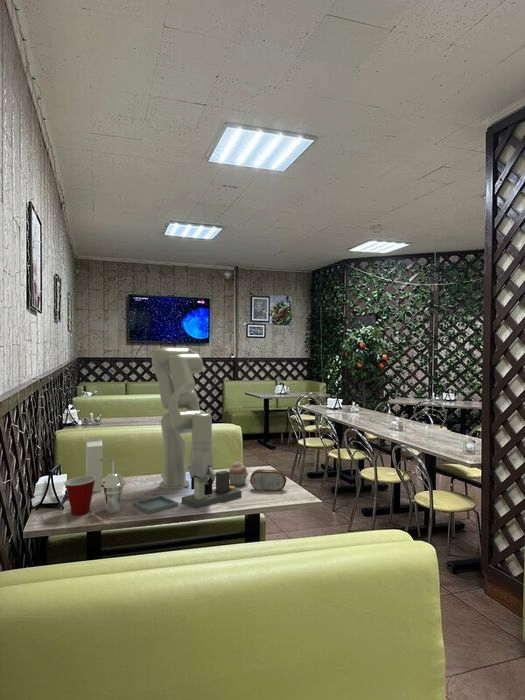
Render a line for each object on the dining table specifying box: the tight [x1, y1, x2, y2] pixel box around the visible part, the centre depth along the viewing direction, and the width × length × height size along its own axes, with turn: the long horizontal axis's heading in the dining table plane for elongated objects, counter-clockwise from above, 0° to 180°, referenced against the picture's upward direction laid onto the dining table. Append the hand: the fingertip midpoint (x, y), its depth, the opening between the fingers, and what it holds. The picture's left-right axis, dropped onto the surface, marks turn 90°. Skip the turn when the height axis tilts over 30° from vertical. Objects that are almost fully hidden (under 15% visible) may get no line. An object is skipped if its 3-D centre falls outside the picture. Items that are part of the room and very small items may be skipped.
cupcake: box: [228, 460, 250, 487], centre depth 196 cm, size 9×9×10 cm
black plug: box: [215, 470, 230, 494], centre depth 178 cm, size 3×4×10 cm
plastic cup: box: [63, 475, 96, 516], centre depth 161 cm, size 11×11×12 cm
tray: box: [132, 494, 179, 515], centre depth 167 cm, size 12×12×2 cm
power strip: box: [181, 485, 242, 510], centre depth 175 cm, size 9×22×3 cm, turn 132°
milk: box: [85, 436, 104, 493], centre depth 187 cm, size 6×6×22 cm
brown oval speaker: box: [249, 468, 287, 492], centre depth 188 cm, size 15×3×8 cm, turn 84°
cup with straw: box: [101, 458, 126, 513], centre depth 162 cm, size 8×9×20 cm
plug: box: [193, 477, 209, 500], centre depth 171 cm, size 3×4×10 cm
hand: (201, 491), depth 171 cm, fingers open, 8 cm apart
